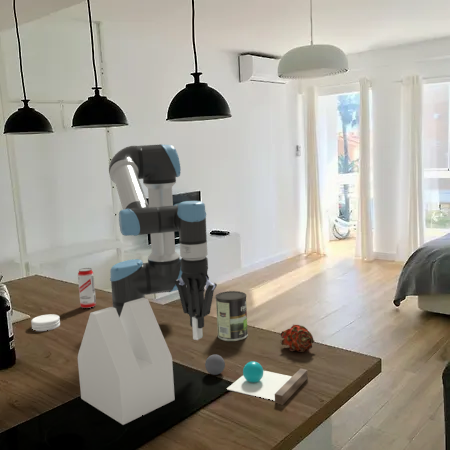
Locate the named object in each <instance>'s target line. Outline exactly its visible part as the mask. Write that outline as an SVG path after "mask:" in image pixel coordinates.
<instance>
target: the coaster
mask: <svg viewBox="0 0 450 450" xmlns="http://www.w3.org/2000/svg"><path fill="white" fill-rule="evenodd" d="M60 318H61V317H60V315H58V314H54V313H52V314H48V313H47V314H42V315H38V316H36V317H33V318H32V319H31V320H30V323H31V330H32V329H33V330H32V331H34V330H36V331H35V332H48V331H52V330H55V329H58V328H59V327H60V326H61V320H60ZM47 330H48V331H47Z"/></svg>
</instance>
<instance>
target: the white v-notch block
mask: <svg viewBox="0 0 450 450" xmlns="http://www.w3.org/2000/svg"><path fill="white" fill-rule="evenodd" d="M82 337H83V338H82V340H81V343H80V346H79V350H78V354H77V368H78V378H79V379H78V380H79V386H80V398H81V400H83V401H84V402H86V403H88V404H89V405H91V406H92V407H94V408H95V409H97V410H98V411H100V412H102V413H104V414H105V415H107V416H108V417H110V418H111V419H113V420H115V421H116V422H118V423H119V424H121V425H122V426H124V425H126V424H128V423H130V422H132V421H134V420H136V419H138V418H140V417H142V415H143V416H145V415H147V414H149V413H151V412H153V411H155V410H156V409H159V408H161V407H162V406H165V405H167V404H169V403H171V402H173V401H175V385H174V383H175V381H174V370H173V369H174V368H173V367H174V365H173V356H172V353H171V352H170V349H169V347H168V346H169V345H168V344H167V342H166V340H165V337H164V335H163V332H162V330H161V327H160V325H159V323H158V321H157V318H156V315H155V313H154V310H153V309H152V306H151V304H150V301H149V299H148V298H146V297H145V298H140V299H137V300H133V301H130V302H126V303H124V306H123V309H122V312H121V315H120V318H119V315H118V313H117V310H116V308H114V307H113V306H109V307H106V308H101V309H98V310H95V311H93V312H90V314H89V316H88V320H87V322H86V327H85V331H84V333H83V336H82Z"/></svg>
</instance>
